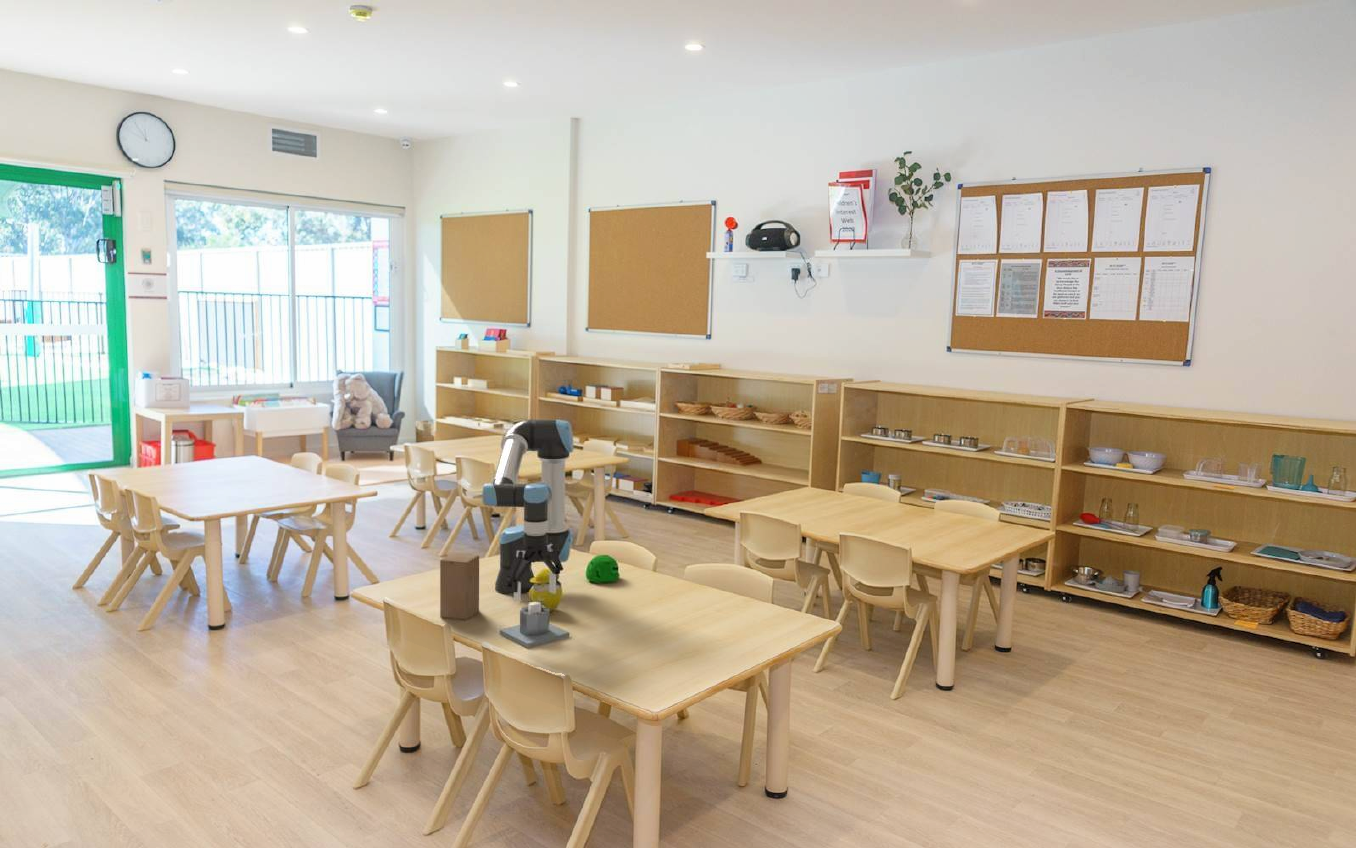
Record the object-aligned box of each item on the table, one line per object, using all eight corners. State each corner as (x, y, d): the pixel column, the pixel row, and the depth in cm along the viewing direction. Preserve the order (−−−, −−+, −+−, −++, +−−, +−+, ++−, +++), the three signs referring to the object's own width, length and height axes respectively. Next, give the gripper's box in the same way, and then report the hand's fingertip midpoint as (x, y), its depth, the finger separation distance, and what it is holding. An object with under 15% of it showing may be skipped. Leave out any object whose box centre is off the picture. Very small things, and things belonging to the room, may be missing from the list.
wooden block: (467, 620, 306) (467, 562, 303) (439, 617, 308) (439, 559, 305) (479, 611, 316) (479, 554, 313) (452, 608, 318) (452, 552, 315)
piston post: (540, 623, 305) (541, 593, 303) (569, 637, 293) (569, 605, 292) (499, 634, 294) (499, 602, 292) (527, 648, 282) (528, 615, 281)
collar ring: (538, 624, 300) (538, 603, 299) (553, 631, 293) (554, 610, 292) (515, 630, 294) (515, 609, 293) (531, 637, 287) (531, 616, 286)
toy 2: (618, 585, 350) (618, 560, 349) (583, 584, 350) (584, 559, 349) (620, 575, 364) (621, 551, 362) (587, 574, 364) (588, 550, 362)
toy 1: (522, 609, 319) (522, 567, 317) (545, 603, 326) (545, 562, 324) (545, 618, 310) (546, 575, 308) (569, 612, 317) (569, 570, 316)
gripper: (560, 524, 301) (559, 586, 304) (495, 536, 284) (495, 602, 287) (574, 529, 295) (573, 592, 298) (508, 541, 278) (508, 608, 281)
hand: (535, 597), depth 292 cm, fingers open, 13 cm apart
